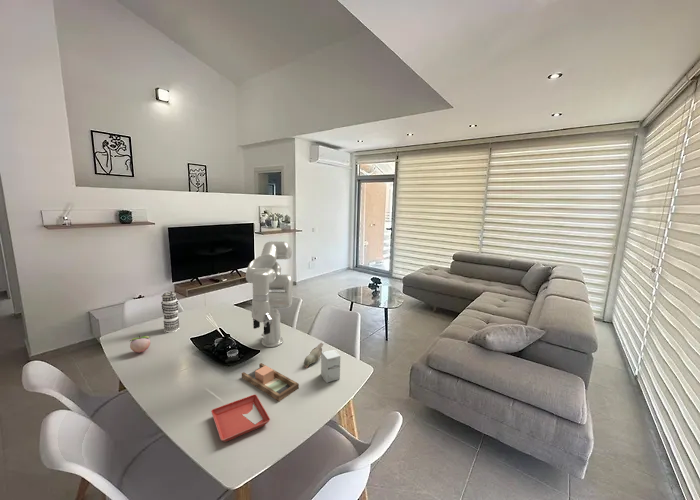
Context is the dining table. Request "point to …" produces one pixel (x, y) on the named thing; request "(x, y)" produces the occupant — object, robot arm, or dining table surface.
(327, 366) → the supplement box
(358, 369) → the dining table surface
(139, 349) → the decorative fruit
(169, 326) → the model tower building
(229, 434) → the red shallow tray
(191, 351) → the dining table surface
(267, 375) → the terracotta block
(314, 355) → the decorative bird
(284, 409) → the dining table surface
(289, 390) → the wooden tray
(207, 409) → the dining table surface
